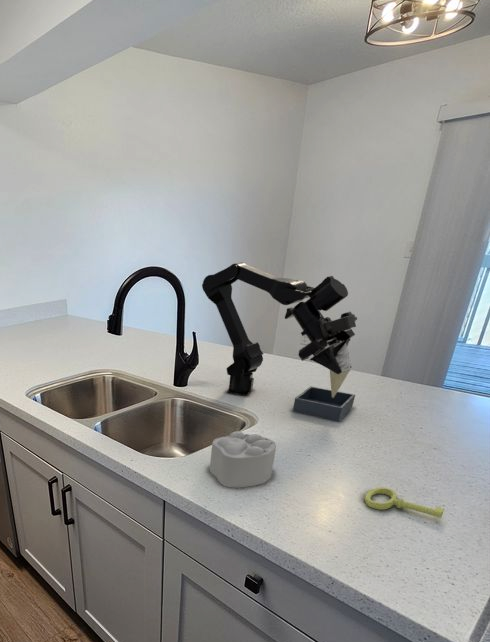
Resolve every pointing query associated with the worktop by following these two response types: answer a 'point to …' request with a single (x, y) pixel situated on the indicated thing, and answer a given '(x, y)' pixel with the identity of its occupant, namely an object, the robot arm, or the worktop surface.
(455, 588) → the worktop surface
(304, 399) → the tub
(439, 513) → the key
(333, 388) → the ice cream cone
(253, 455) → the lumpy-topped squat cylinder
